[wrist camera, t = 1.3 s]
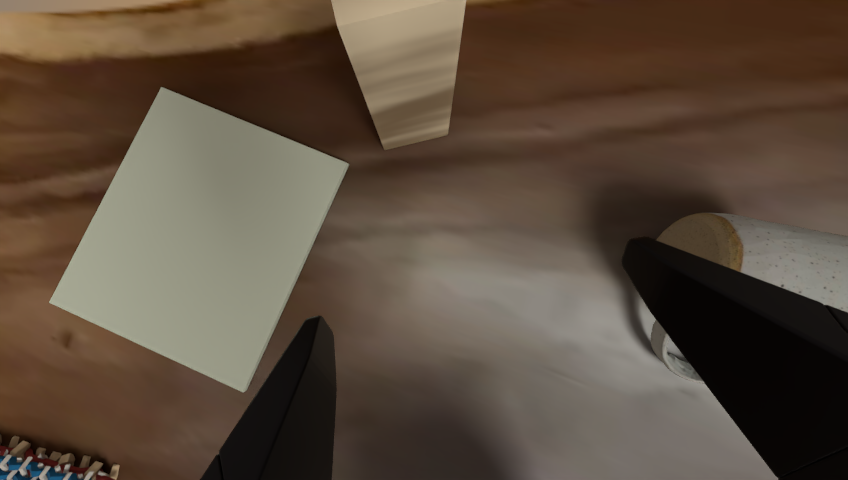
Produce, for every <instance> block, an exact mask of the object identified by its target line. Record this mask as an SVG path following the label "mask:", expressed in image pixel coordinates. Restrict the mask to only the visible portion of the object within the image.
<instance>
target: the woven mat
mask: <svg viewBox="0 0 848 480" xmlns="http://www.w3.org/2000/svg"><path fill="white" fill-rule="evenodd" d="M18 441H19V437H18V436H13V437H12V439H11V442H10V444H9V446H8V447H5V446H0V455H2V456H0V480H116V479H117V476H118V471H119V466H120V465H117V464H114V465H113V467H112V470H111V472H110V475H109V474H107V473H105V472H103V469H101V467H102V465H103V463H100V462H97V461H95V462H94V463H93V464H92V466H91V467H88V466H89V462H90V458H91V457H90V456H86V455H84V457H83V459H82V461H81V464H80V466H79V468H78V467H75V466H73V465H74V462H75V457H74V454H72V453H69V454H66V455H62V456H61V453H59V452H55V451H53V452H52V454H51V456H50V457H49V459H48V456H47V455H45V451H46V449H44V448H40V447H39V448H38V449H37V451H36V454H35V455H33V450H32V449H29V448H30V447H31V444H30V443H28V442H25V441H22V442H21V443H20V444H18ZM1 443H2V439H1V434H0V445H1ZM59 459H60V460H59ZM58 461H59V462H58ZM108 476H109V477H108Z"/></svg>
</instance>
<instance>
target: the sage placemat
mask: <svg viewBox="0 0 848 480" xmlns="http://www.w3.org/2000/svg"><path fill="white" fill-rule="evenodd" d="M348 166H349V164H348V163H346V162H344V161H341V160H339V159H336V158H334V157H331V156H329V155H327V154H324V153H322V152H319V151H317V150H314V149H312V148H309V147H307V146H305V145H302V144H300V143H297V142H295V141H292V140H290V139H287V138H285V137H283V136H280V135H278V134H275V133H273V132H270V131H268V130H265V129H263V128H261V127H258V126H256V125H253V124H251V123H248V122H246V121H244V120H241V119H239V118H236V117H234V116H231V115H229V114H226V113H224V112H222V111H219V110H217V109H214V108H212V107H209V106H207V105H204V104H202V103H200V102H197V101H195V100H192V99H190V98H187V97H185V96H182V95H180V94H178V93H175V92H173V91H170V90H168V89H165V88H163V87H161V89H160V91H159V92H158V94H157V96H156V98H155V100H154V102H153V104H152V106H151V108H150V110H149V112H148V114H147V116H146V117H145V119H144V121H143V123H142V125H141V127H140V129H139V131H138V133H137V135H136V137H135V139H134V140H133V142H132V144H131V146H130V148H129V150H128V152H127V154H126V156H125V158H124V160H123V162H122V163H121V165H120V167H119V169H118V171H117V173H116V175H115V177H114V179H113V181H112V183H111V185H110V187H109V188H108V190H107V192H106V194H105V196H104V198H103V200H102V202H101V204H100V206H99V208H98V210H97V211H96V213H95V215H94V217H93V219H92V221H91V223H90V225H89V227H88V229H87V231H86V233H85V234H84V236H83V238H82V240H81V242H80V244H79V246H78V248H77V250H76V252H75V254H74V256H73V257H72V259H71V261H70V263H69V265H68V267H67V269H66V271H65V273H64V275H63V277H62V279H61V281H60V282H59V284H58V286H57V288H56V290H55V292H54V294H53V296H52V298H51V300H50V302H49V303H51V304H53V305H55V306H57V307H60V308H62V309H64V310H66V311H68V312H70V313H73V314H75V315H77V316H79V317H81V318H83V319H86V320H88V321H90V322H92V323H94V324H96V325H98V326H101V327H103V328H105V329H107V330H109V331H111V332H114V333H116V334H118V335H120V336H122V337H124V338H127V339H129V340H131V341H133V342H135V343H137V344H139V345H142V346H144V347H146V348H148V349H150V350H152V351H155V352H157V353H159V354H161V355H163V356H165V357H168V358H170V359H172V360H174V361H176V362H178V363H180V364H183V365H185V366H187V367H189V368H191V369H193V370H196V371H198V372H200V373H202V374H204V375H206V376H209V377H211V378H213V379H215V380H217V381H219V382H221V383H224V384H226V385H228V386H230V387H232V388H234V389H237V390H239V391H241V392H245V391H246V390H247V389H248V386H249V384H250V382H251V380H252V378H253V375H254V373H255V371H256V369H257V367H258V364H259V362H260V360H261V358H262V356H263V353H264V351H265V349H266V347H267V345H268V342H269V340H270V338H271V336H272V334H273V331H274V329H275V327H276V325H277V323H278V320H279V318H280V316H281V314H282V312H283V309H284V307H285V305H286V303H287V301H288V298H289V296H290V294H291V292H292V290H293V287H294V285H295V283H296V281H297V279H298V276H299V274H300V272H301V270H302V268H303V265H304V263H305V261H306V259H307V257H308V254H309V252H310V250H311V248H312V246H313V243H314V241H315V239H316V237H317V235H318V232H319V230H320V228H321V226H322V224H323V221H324V219H325V217H326V215H327V213H328V210H329V208H330V206H331V204H332V202H333V199H334V197H335V195H336V193H337V191H338V188H339V186H340V184H341V182H342V180H343V177H344V175H345V173H346V171H347V169H348Z"/></svg>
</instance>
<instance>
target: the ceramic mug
mask: <svg viewBox="0 0 848 480" xmlns="http://www.w3.org/2000/svg"><path fill="white" fill-rule="evenodd" d="M656 240H657V241H659V242H662V243H665V244H667V245H670V246H673V247H675V248H678V249H681V250H683V251H686V252H689V253H691V254H694V255H697V256H699V257H702V258H704V259H707V260H710V261H712V262H715V263H718V264H720V265H723V266H726V267H728V268H731V269H734V270H736V271H739V272H742V273H744V274H747V275H750V276H752V277H755V278H757V279H760V280H763V281H765V282H768V283H771V284H773V285H776V286H779V287H781V288H784V289H787V290H789V291H792V292H795V293H797V294H800V295H803V296H805V297H808V298H810V299H813V300H816V301H818V302H821V303H823V304H824V305H829V306H832V307H835V308H837V309H840V310H842V311H845V312H848V236H843V235H838V234H832V233H827V232H820V231H816V230H810V229H806V228H801V227H795V226H790V225H785V224H780V223H774V222H767V221H762V220H758V219H754V218H749V217H744V216H739V215H732V214H725V213H697V214H692V215H688V216H686V217H683V218H681V219H679V220H678V221H676V222H675V223H673V224H672V225H670V226H669V227H668V228H667V229H665V230H664V231H663V232H662V233H661V234H660V236H659V237H658V238H657V239H656ZM669 339H670V337H669V336H668V334H667V333H666V332H665V330H664V329H663V328H662V327H661V325H660V324H659V323H658V321H657V320H656V321H655V323H654V324H653V328H652V333H651V345H652V349H653V351H654V352H655V354H656V355H657V357H658V358H659V359H660V360H661V361H662V362H663V363H664V364H665V366H666V367H667V368H668V369H669V370H670V371H672V372H673V373H675V374H676V375H678V376H680V377H682V378H684V379H687V380H690V381H693V382H697V383H702V384H705V383H704V382H703V380H702V379H701V378H700V376H699V375H698V374H697V372H696V371H695V370H694V368H693V367H692V366H691V364H690V363H688V362H685V361H682V360H679V359H677V358H676V356H674V355H673V354H669V353H667V344H668V342H669Z"/></svg>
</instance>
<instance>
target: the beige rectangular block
mask: <svg viewBox="0 0 848 480" xmlns="http://www.w3.org/2000/svg"><path fill="white" fill-rule="evenodd" d="M331 2H332V6H333V10H334V15H335V19H336V23H337V27H338V30H339V32H340V35H341V38H342V40H343V43H344V46H345V48H346V51H347V53H348V56H349V59H350V61H351V64H352V67H353V69H354V72H355V74H356V77H357V80H358V82H359V85H360V87H361V90H362V93H363V95H364V98H365V101H366V103H367V106H368V108H369V111H370V114H371V116H372V119H373V122H374V124H375V127H376V129H377V132H378V135H379V137H380V140H381V143H382V145H383V148H384V150H388V149H392V148H396V147H400V146H404V145H409V144H413V143H417V142H421V141H425V140H429V139H433V138H438V137H442V136H446V135H448V129H449V122H450V115H451V107H452V100H453V93H454V85H455V78H456V70H457V63H458V56H459V48H460V41H461V34H462V26H463V19H464V12H465V4H466V0H331Z"/></svg>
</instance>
